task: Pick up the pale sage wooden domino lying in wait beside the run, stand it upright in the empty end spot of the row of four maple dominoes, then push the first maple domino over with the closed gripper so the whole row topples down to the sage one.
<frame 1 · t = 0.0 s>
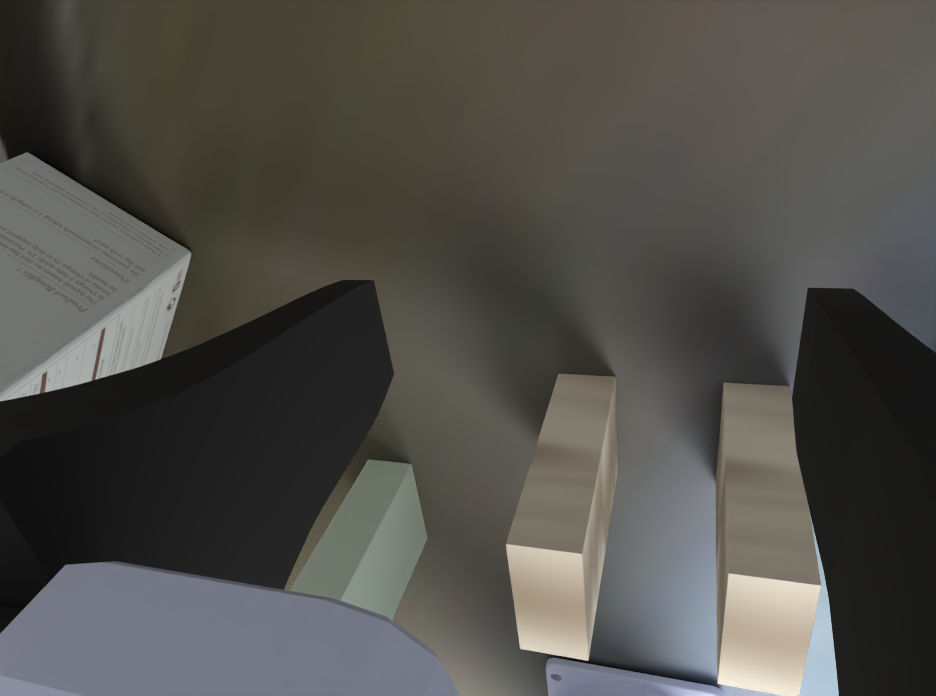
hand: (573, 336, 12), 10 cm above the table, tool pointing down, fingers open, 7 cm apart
domino 4: (589, 424, 26), on the table
end domino: (398, 499, 31), on the table
supplement box: (104, 268, 29), on the table
domino 3: (750, 437, 24), on the table
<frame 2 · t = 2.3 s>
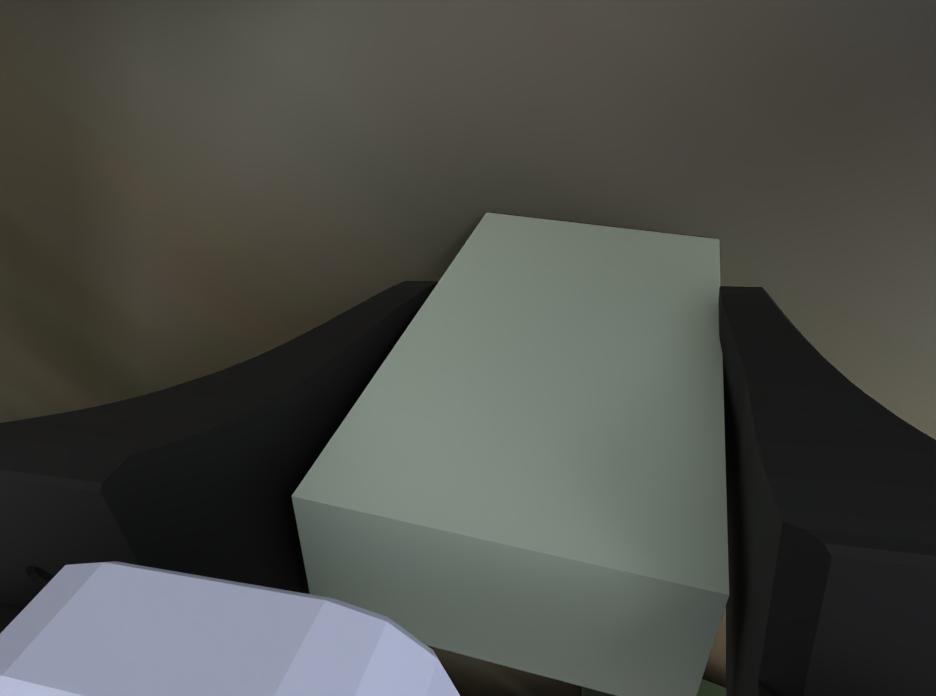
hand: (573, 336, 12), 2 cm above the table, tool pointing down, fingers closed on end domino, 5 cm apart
end domino: (593, 272, 14), on the table, touching gripper
when the fingers open (3 cm above the table, at t = 5.5 s): end domino drops 1 cm, on the table.
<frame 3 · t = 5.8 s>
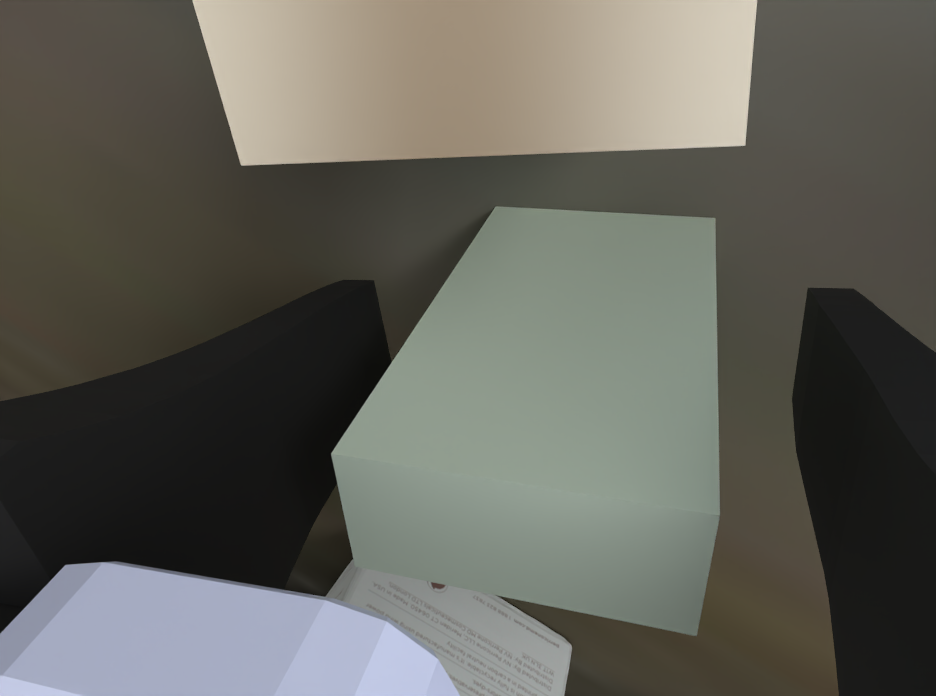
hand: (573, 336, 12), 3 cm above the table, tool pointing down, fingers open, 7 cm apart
end domino: (598, 256, 15), on the table
supplement box: (433, 625, 24), on the table
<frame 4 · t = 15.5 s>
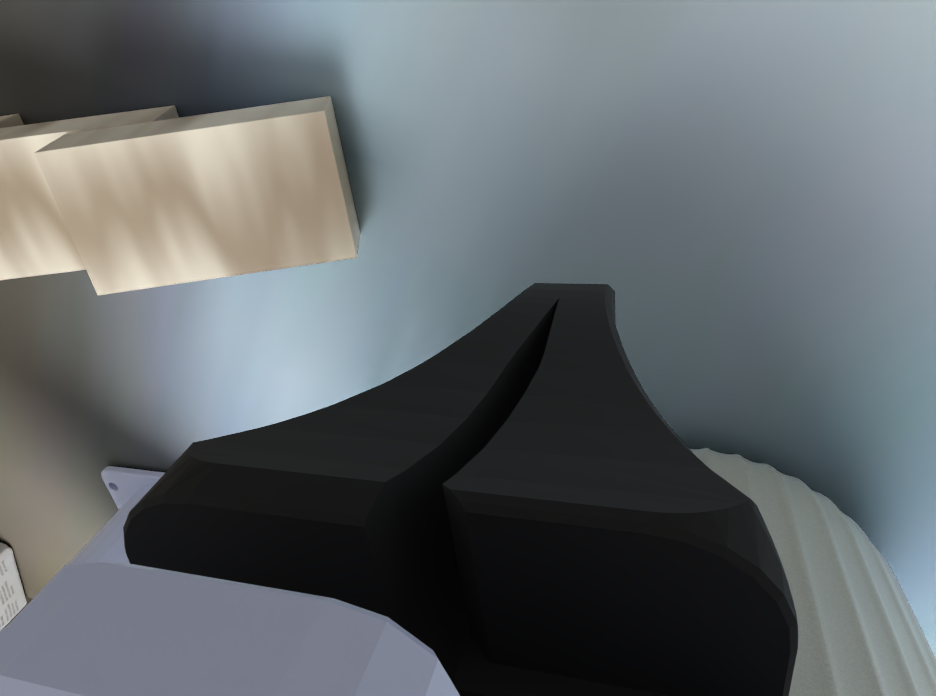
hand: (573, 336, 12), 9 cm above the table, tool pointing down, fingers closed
domino 1: (344, 177, 21), point 1 cm above the table, tilted 69°, touching domino 2
domino 2: (187, 181, 23), point 1 cm above the table, tilted 72°, touching domino 1, domino 3
canister: (683, 552, 27), on the table
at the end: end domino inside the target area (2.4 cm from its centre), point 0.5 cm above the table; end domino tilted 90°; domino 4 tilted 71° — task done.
